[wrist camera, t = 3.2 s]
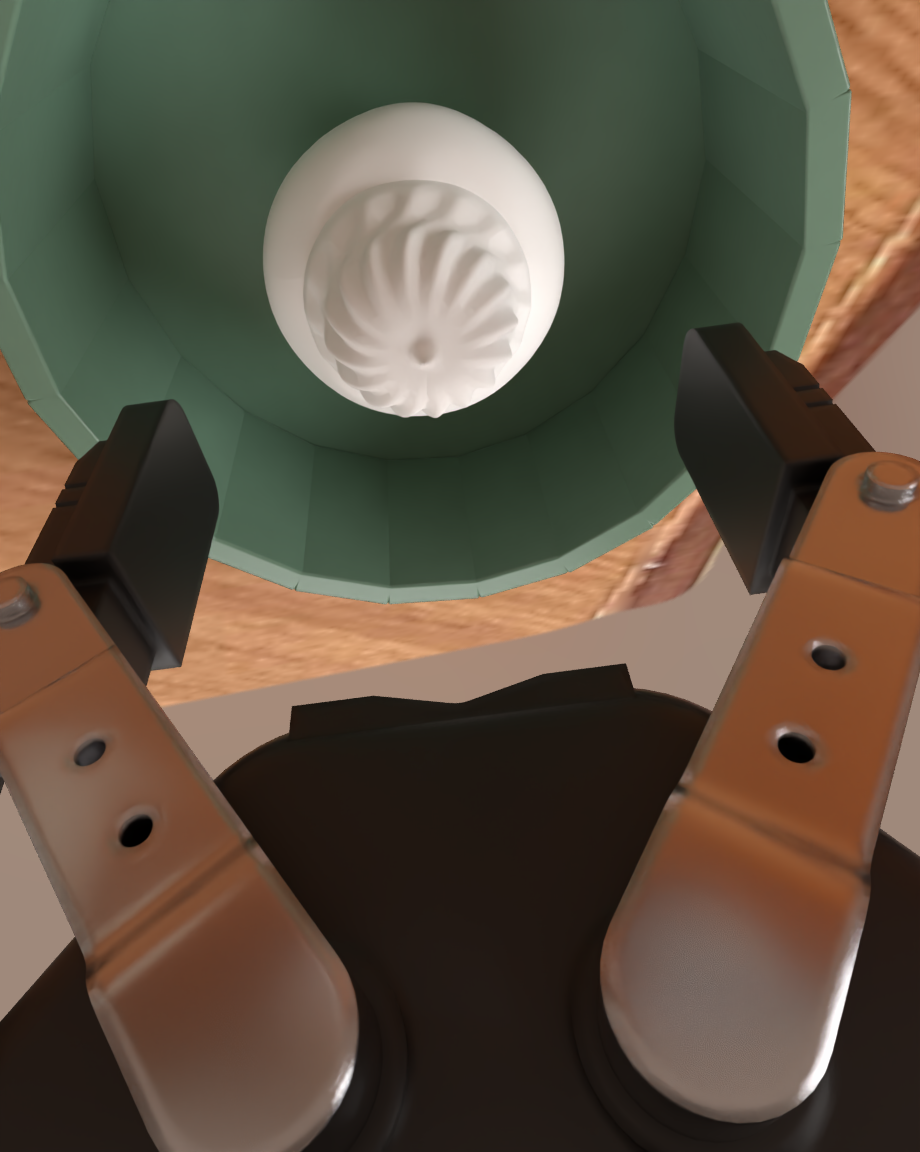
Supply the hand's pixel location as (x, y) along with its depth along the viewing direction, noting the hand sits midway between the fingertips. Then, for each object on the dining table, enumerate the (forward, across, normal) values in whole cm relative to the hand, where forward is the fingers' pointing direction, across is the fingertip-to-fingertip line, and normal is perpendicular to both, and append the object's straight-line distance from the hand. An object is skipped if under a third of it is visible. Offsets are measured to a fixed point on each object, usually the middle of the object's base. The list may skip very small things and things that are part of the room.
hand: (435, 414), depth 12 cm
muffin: (+8, 0, 0) cm, 8 cm away
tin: (+8, 0, 0) cm, 9 cm away
